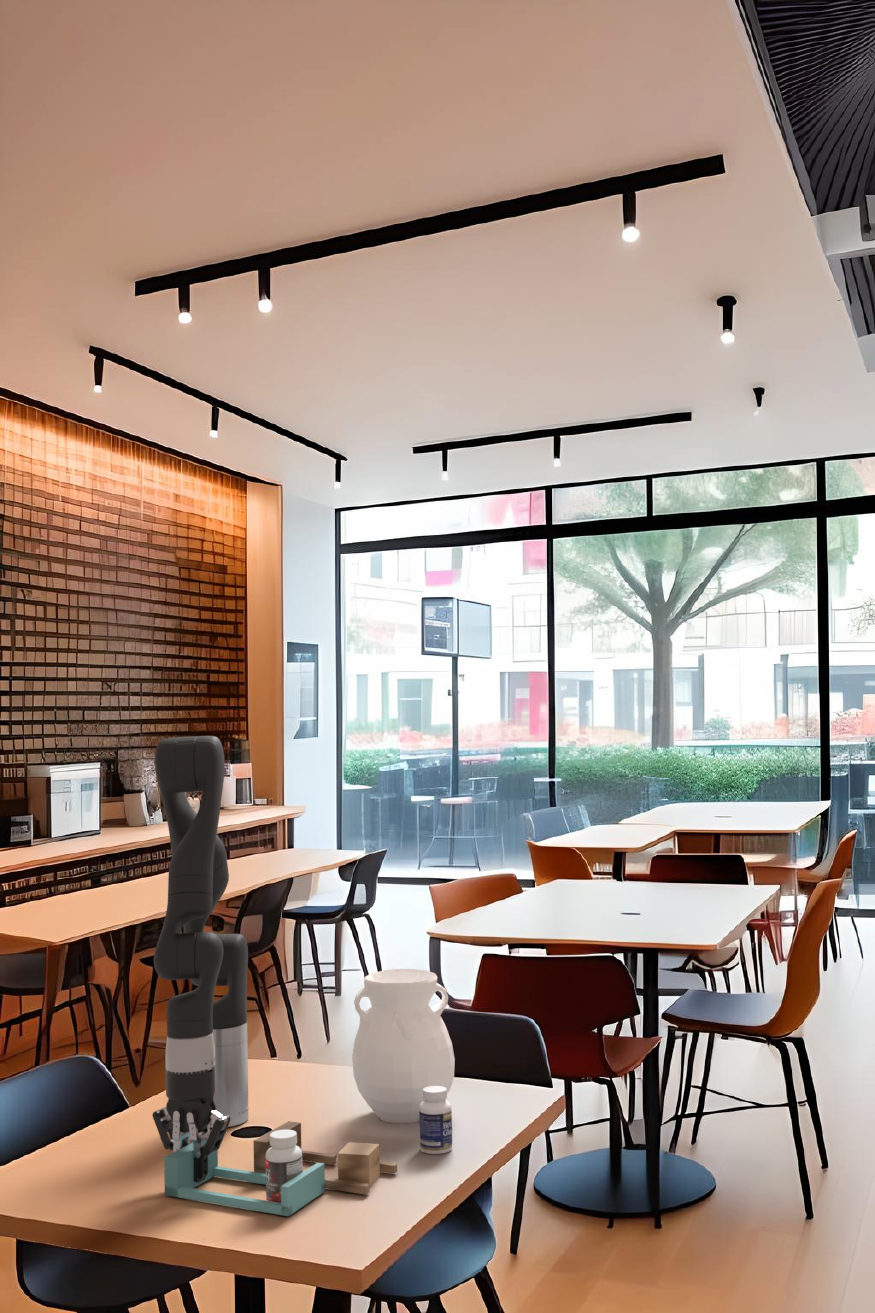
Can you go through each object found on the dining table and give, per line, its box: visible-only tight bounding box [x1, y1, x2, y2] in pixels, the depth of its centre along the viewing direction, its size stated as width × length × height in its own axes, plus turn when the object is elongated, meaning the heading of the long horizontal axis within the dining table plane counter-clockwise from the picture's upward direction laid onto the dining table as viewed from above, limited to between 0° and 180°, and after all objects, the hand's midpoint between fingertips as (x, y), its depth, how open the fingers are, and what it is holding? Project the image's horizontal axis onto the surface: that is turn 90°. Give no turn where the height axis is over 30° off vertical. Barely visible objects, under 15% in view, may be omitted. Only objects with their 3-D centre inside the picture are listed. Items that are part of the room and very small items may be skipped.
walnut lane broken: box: [252, 1121, 398, 1195], centre depth 178 cm, size 20×10×6 cm, turn 65°
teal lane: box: [163, 1142, 326, 1217], centre depth 171 cm, size 22×10×6 cm, turn 65°
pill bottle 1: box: [265, 1130, 303, 1203], centre depth 168 cm, size 5×5×10 cm
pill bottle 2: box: [418, 1086, 453, 1155], centre depth 188 cm, size 5×5×10 cm
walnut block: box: [337, 1142, 381, 1189], centre depth 175 cm, size 5×5×5 cm
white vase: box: [351, 968, 456, 1124], centre depth 207 cm, size 19×18×25 cm
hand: (191, 1179), depth 175 cm, fingers closed on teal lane, 2 cm apart
